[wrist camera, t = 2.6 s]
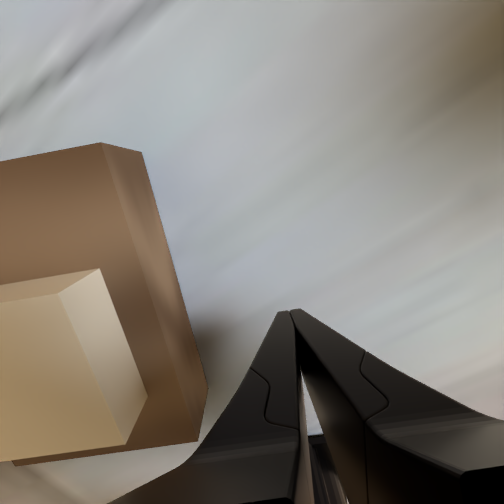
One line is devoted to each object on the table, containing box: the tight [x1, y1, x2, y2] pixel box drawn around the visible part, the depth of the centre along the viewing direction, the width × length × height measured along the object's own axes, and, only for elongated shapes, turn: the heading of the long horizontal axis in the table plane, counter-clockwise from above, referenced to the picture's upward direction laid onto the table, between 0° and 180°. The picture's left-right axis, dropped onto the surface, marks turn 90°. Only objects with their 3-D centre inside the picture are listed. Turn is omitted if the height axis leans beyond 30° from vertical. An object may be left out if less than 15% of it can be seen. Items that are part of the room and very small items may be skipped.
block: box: [0, 268, 148, 462], centre depth 9 cm, size 6×6×2 cm
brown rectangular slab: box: [0, 142, 208, 466], centre depth 11 cm, size 13×9×3 cm
